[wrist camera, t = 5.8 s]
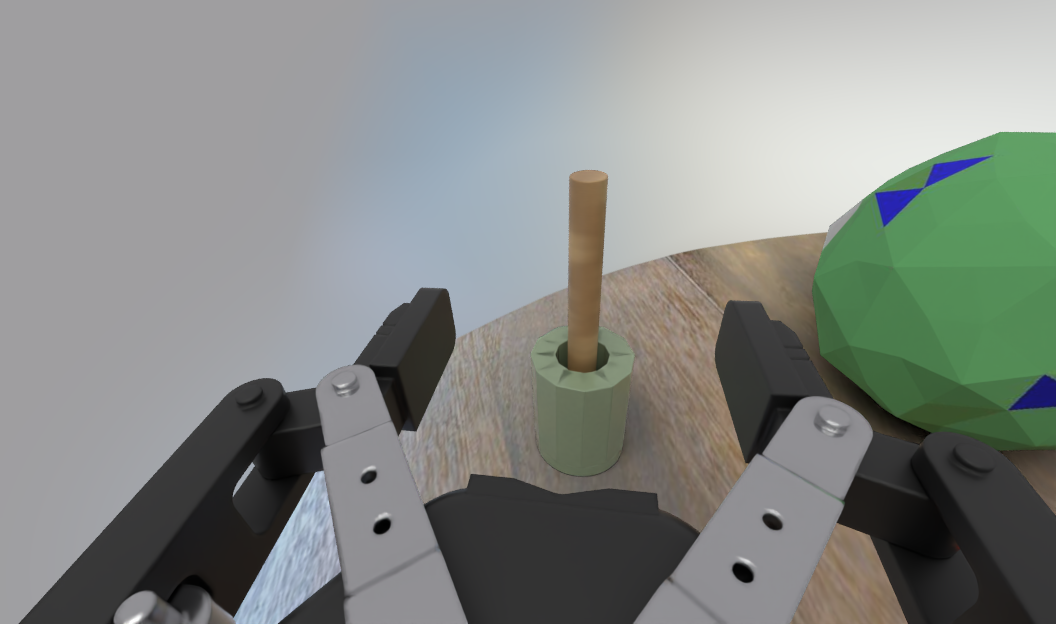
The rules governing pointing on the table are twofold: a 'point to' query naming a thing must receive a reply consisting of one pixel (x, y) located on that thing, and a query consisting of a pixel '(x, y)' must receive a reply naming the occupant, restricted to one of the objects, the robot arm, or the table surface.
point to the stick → (585, 266)
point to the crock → (581, 403)
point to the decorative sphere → (952, 293)
